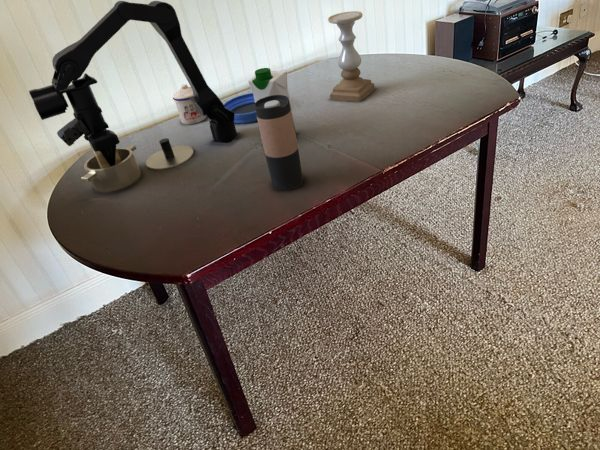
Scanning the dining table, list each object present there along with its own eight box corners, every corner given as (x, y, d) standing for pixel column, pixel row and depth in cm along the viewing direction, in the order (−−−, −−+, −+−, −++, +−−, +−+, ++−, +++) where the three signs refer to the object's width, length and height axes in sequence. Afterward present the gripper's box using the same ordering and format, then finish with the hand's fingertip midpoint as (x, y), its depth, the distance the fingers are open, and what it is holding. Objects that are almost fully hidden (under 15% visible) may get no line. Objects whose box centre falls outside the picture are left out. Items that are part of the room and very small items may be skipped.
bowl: (214, 124, 148) (211, 113, 146) (240, 102, 161) (238, 92, 159) (264, 125, 141) (262, 114, 139) (287, 101, 154) (285, 91, 152)
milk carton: (259, 145, 129) (243, 73, 118) (274, 131, 136) (259, 62, 124) (287, 146, 126) (273, 73, 114) (301, 132, 132) (288, 61, 121)
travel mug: (271, 177, 113) (253, 98, 101) (302, 172, 113) (288, 92, 101) (272, 193, 107) (253, 111, 95) (305, 187, 106) (290, 104, 95)
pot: (156, 166, 129) (148, 144, 125) (112, 201, 116) (101, 177, 112) (123, 163, 134) (114, 142, 130) (77, 196, 121) (65, 173, 117)
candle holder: (375, 88, 150) (370, 9, 137) (360, 102, 143) (353, 20, 130) (345, 87, 156) (337, 11, 142) (329, 99, 149) (319, 21, 135)
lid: (203, 150, 133) (197, 130, 129) (175, 173, 123) (168, 153, 120) (167, 147, 138) (160, 129, 135) (137, 170, 129) (129, 150, 125)
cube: (118, 159, 125) (111, 142, 122) (123, 165, 121) (116, 148, 119) (100, 166, 123) (92, 149, 120) (104, 172, 120) (96, 155, 117)
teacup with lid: (185, 127, 149) (174, 92, 143) (177, 120, 156) (166, 86, 150) (219, 115, 153) (210, 81, 147) (210, 109, 160) (201, 75, 154)
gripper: (45, 108, 117) (72, 163, 126) (57, 127, 103) (87, 187, 112) (89, 94, 121) (112, 148, 130) (106, 110, 107) (131, 169, 116)
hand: (110, 162), depth 122 cm, fingers closed on cube, 5 cm apart
